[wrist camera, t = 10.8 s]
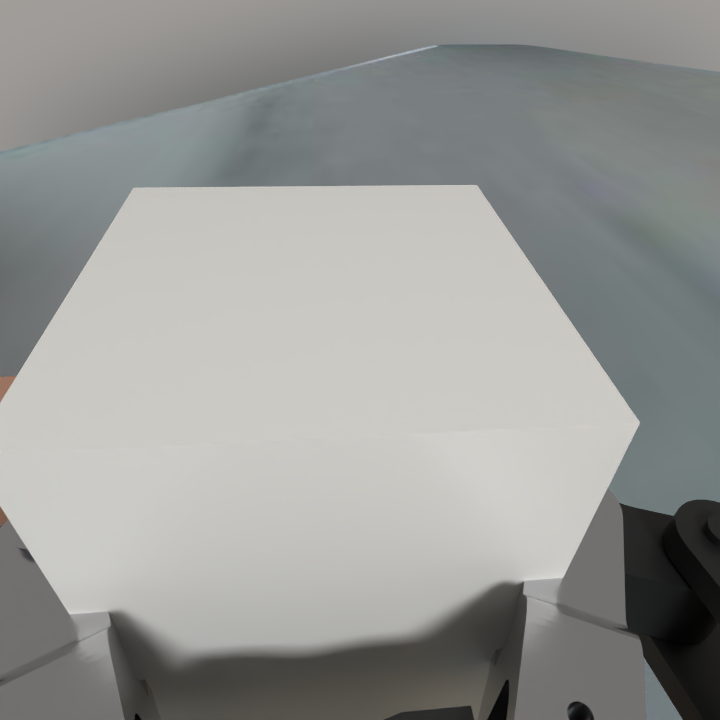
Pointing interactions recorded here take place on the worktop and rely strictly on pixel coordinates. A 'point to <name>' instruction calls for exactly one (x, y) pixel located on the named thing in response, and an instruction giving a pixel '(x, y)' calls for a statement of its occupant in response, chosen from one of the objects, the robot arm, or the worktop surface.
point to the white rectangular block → (308, 446)
